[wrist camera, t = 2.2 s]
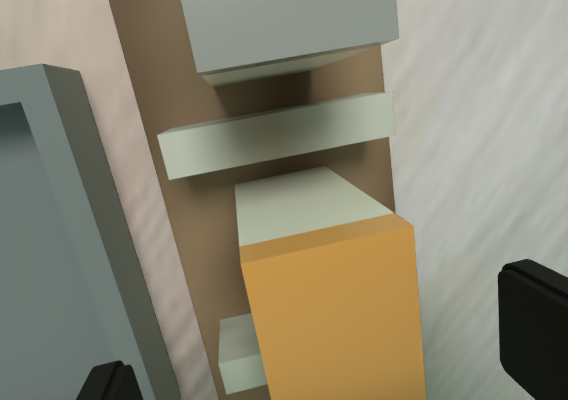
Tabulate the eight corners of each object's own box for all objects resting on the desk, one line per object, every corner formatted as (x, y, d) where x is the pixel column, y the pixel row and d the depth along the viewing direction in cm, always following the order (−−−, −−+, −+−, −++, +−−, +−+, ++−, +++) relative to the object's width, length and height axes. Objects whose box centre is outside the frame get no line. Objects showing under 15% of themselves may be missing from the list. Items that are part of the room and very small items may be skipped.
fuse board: (352, -166, 14) (397, -262, 10) (409, 431, 22) (445, 496, 18) (77, -134, 13) (16, -228, 9) (244, 477, 21) (247, 556, 17)
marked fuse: (325, 166, 16) (413, 225, 8) (339, 268, 17) (426, 399, 10) (234, 184, 16) (240, 263, 8) (256, 287, 17) (279, 438, 9)
